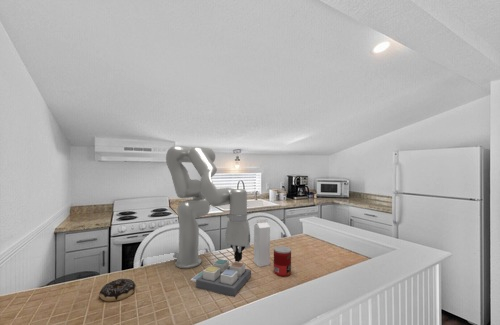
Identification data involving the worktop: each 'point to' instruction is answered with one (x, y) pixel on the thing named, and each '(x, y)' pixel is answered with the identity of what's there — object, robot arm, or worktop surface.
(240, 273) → the key terracotta
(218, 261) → the key teal
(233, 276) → the key slate
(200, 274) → the strip
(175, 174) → the robot arm
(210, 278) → the key mustard
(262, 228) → the milk
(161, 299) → the worktop surface
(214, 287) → the keypad
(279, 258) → the canned food
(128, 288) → the donut
